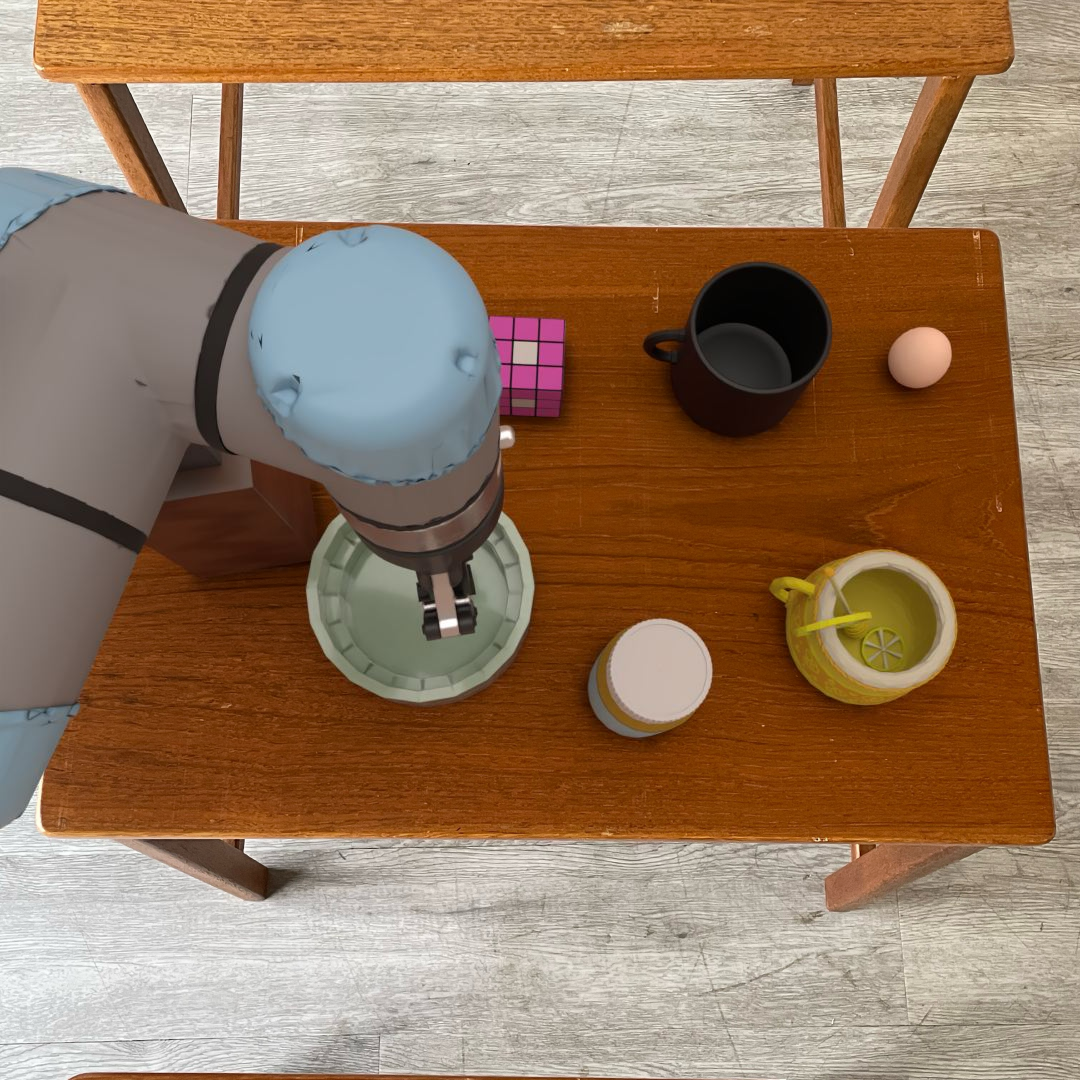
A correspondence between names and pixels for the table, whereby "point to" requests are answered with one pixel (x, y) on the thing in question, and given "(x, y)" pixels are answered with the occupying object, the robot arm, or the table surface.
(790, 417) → the table surface
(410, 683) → the bowl
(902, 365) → the egg
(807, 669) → the mug
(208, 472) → the utensil stand
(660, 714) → the bottle
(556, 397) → the puzzle toy
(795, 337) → the mug
